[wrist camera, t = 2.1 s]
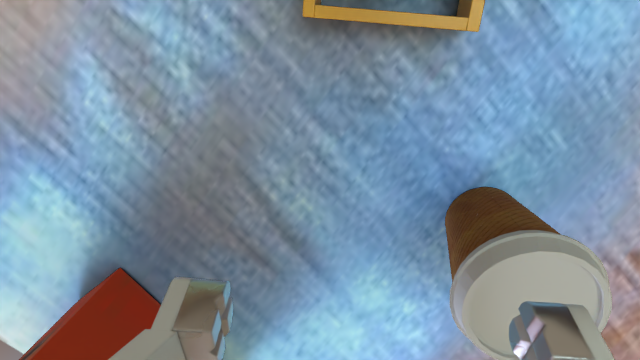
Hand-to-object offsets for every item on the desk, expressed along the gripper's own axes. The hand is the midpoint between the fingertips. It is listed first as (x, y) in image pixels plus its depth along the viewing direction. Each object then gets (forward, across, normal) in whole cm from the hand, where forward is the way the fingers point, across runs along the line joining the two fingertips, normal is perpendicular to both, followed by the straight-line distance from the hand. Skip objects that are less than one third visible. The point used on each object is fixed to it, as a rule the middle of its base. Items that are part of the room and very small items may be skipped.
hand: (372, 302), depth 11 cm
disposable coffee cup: (+20, -12, +14) cm, 27 cm away
